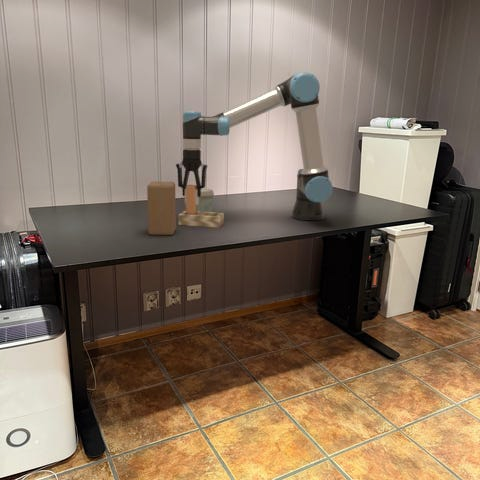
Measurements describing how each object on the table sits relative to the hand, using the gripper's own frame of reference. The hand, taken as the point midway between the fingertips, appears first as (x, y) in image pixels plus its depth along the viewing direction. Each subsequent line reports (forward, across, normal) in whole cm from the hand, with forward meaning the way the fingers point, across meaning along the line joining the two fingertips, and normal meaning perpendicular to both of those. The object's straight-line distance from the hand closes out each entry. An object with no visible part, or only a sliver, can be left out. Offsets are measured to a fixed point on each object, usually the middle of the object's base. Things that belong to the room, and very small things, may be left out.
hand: (191, 203), depth 203 cm
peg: (+4, 0, 0) cm, 4 cm away
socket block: (+9, -4, 0) cm, 10 cm away
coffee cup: (+9, -1, -18) cm, 20 cm away
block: (+9, +7, +18) cm, 22 cm away
